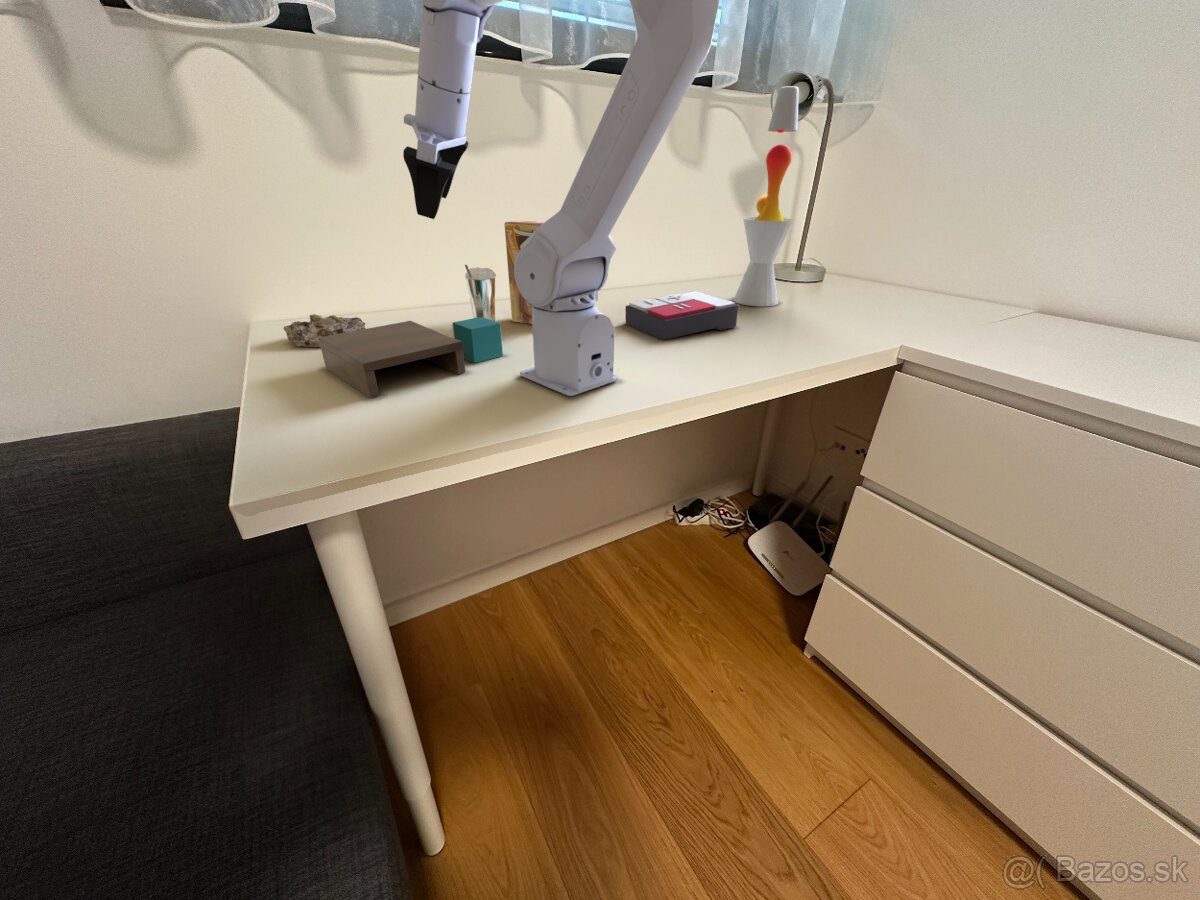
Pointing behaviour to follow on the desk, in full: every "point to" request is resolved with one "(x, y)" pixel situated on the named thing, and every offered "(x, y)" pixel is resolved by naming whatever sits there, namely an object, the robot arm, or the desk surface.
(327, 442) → the desk surface
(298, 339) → the mineral rock
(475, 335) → the cube
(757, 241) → the lava lamp
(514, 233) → the candy box
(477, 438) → the desk surface
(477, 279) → the milkshake
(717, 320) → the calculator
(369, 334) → the shelf
